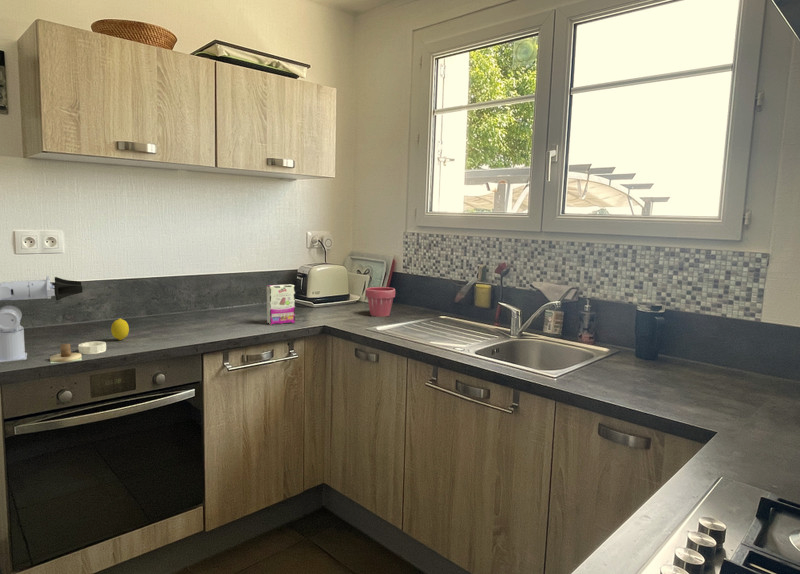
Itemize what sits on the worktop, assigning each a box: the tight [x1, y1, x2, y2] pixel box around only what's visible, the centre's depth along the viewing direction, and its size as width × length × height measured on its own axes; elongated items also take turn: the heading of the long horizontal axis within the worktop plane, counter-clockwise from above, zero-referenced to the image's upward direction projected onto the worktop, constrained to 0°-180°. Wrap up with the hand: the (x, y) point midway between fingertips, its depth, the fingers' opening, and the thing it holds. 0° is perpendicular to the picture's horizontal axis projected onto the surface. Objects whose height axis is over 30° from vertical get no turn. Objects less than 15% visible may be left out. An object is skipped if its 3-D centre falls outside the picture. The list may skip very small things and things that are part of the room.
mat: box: [50, 358, 83, 364], centre depth 164 cm, size 8×8×1 cm
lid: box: [49, 343, 83, 363], centre depth 163 cm, size 8×8×4 cm
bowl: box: [77, 341, 107, 355], centre depth 173 cm, size 8×8×3 cm
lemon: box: [110, 318, 130, 341], centre depth 189 cm, size 6×6×8 cm
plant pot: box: [365, 286, 396, 318], centre depth 255 cm, size 14×14×13 cm
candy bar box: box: [266, 283, 296, 326], centre depth 228 cm, size 11×5×16 cm, turn 123°
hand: (81, 286), depth 170 cm, fingers open, 7 cm apart
